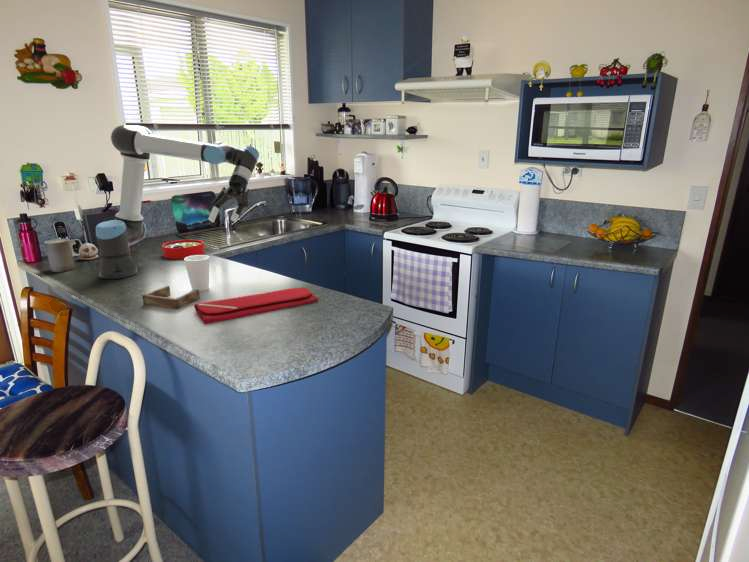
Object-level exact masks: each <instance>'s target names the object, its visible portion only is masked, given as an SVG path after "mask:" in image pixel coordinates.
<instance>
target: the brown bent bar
mask: <svg viewBox="0 0 749 562" xmlns="http://www.w3.org/2000/svg"><path fill="white" fill-rule="evenodd" d="M141 296H142V304H143V305H144V306H145V305H146V306H153V307H159V308H160V307H161V308H166V309H174V310H178V309H181V308H182V307H185V306H187V305H189V304H191V303H194V302H195V301H196V302H197V301H198V300H201V294H200V292H199V290H194V291H189V292H188V293H186V294H183V295H180V296H178V297H176V298H174V297H168V296H171V289H170V285H165V286H163V287H160V288H158V289H155V290H153V291H149V292H147V293H145V294H143V295H141Z"/></svg>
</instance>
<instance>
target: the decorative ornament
mask: <svg viewBox="0 0 749 562" xmlns="http://www.w3.org/2000/svg"><path fill="white" fill-rule="evenodd" d="M82 231H83V235H84V240H85V243H83V244H82V245H81V246H80V247H79V249H78V253H79V255H80V260H85V261H88V260H94V259H98V258H100V257H99V256H100V254H99V255H98V253H99V248H97V247H96V245H94V244H93V243H89V242H88V238H87V233H86V229H85V228H84V229H83V230H82Z"/></svg>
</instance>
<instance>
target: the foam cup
mask: <svg viewBox="0 0 749 562" xmlns="http://www.w3.org/2000/svg"><path fill="white" fill-rule="evenodd" d="M210 261H211V260H210V256H209V255H206V254H203V255H194V256H189V257H186V258H184V259H183V262H184V266H185V269H186V272H187V273H186V274H187V275H188V279H189V283H190V286H191V287H190V288H191V290H192V291H194V290H199V293H200V292H206V291H208V290H209V288H210V263H211V262H210ZM192 291H191V292H192Z"/></svg>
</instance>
